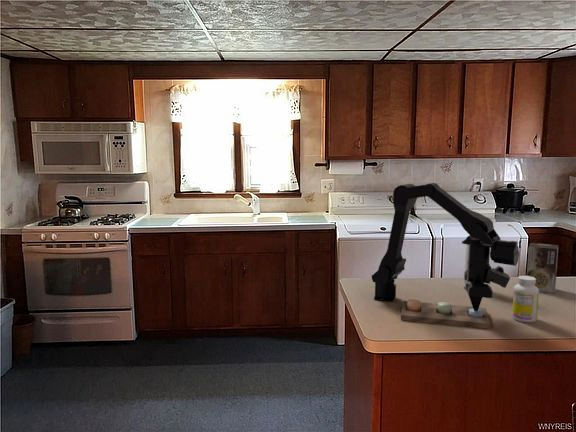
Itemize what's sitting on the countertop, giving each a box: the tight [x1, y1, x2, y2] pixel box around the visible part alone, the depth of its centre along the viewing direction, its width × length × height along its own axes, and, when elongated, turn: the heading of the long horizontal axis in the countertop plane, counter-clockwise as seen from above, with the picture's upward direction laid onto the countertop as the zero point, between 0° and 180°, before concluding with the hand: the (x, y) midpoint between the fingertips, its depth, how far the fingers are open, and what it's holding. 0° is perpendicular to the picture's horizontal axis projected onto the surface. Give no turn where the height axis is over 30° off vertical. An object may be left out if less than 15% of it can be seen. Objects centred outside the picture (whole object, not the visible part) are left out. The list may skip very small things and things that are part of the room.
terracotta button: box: [406, 298, 421, 312], centre depth 143 cm, size 4×4×2 cm
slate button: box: [468, 308, 483, 318], centre depth 138 cm, size 4×4×2 cm
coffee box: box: [526, 242, 559, 294], centre depth 164 cm, size 9×6×16 cm
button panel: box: [400, 300, 492, 330], centre depth 141 cm, size 25×13×2 cm, turn 73°
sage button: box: [437, 301, 452, 315], centre depth 141 cm, size 4×4×2 cm
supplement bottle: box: [511, 275, 540, 323], centre depth 137 cm, size 7×7×13 cm
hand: (475, 310), depth 138 cm, fingers closed, pressing on slate button
